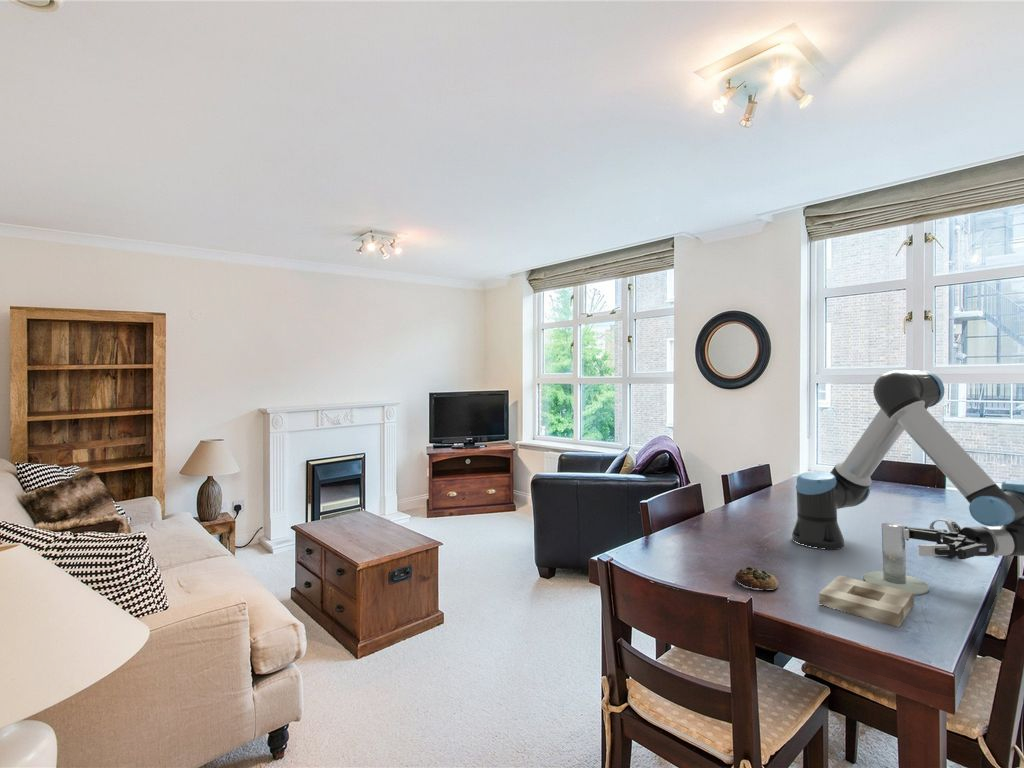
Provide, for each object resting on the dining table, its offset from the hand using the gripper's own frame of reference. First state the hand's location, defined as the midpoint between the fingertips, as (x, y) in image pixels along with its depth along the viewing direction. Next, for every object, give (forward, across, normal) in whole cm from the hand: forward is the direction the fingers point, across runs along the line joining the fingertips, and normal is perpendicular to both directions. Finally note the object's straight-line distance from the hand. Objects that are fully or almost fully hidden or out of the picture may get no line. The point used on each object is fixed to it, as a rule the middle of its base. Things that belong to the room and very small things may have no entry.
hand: (901, 542), depth 136 cm
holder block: (+17, -12, -12) cm, 24 cm away
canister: (+1, +1, -11) cm, 11 cm away
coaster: (+2, 0, -12) cm, 12 cm away
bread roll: (+38, +1, -12) cm, 40 cm away
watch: (-29, +23, -12) cm, 38 cm away
